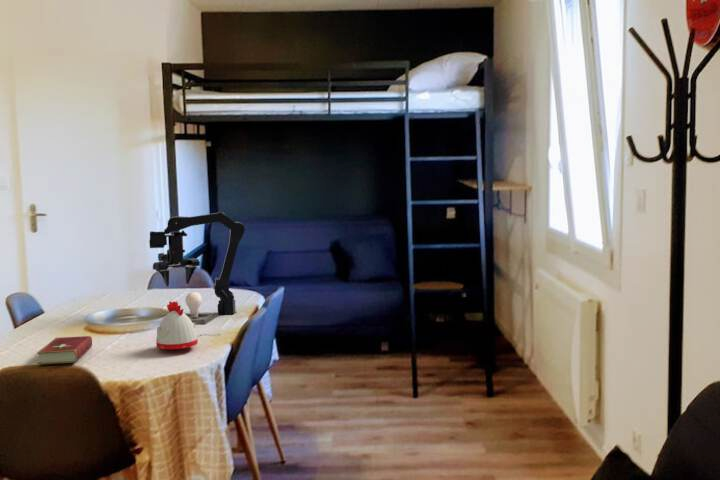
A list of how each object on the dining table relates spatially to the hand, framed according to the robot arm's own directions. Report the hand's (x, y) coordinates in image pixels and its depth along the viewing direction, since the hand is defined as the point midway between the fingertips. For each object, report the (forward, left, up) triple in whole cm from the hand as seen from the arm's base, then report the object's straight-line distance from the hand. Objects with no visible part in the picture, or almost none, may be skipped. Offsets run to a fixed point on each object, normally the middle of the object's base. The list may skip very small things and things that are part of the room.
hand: (177, 285), depth 300 cm
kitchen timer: (-18, +46, -14) cm, 51 cm away
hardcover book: (+15, +60, -14) cm, 64 cm away
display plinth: (-9, +7, -13) cm, 18 cm away
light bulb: (-9, +7, -13) cm, 17 cm away
